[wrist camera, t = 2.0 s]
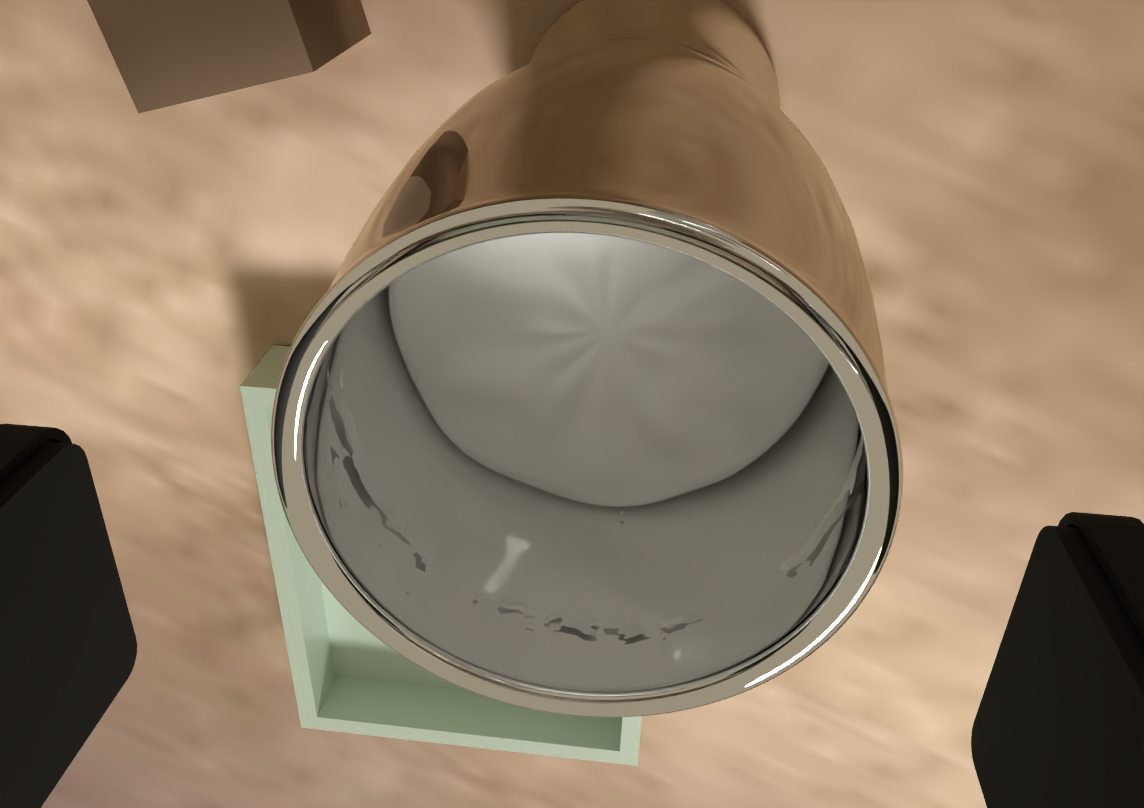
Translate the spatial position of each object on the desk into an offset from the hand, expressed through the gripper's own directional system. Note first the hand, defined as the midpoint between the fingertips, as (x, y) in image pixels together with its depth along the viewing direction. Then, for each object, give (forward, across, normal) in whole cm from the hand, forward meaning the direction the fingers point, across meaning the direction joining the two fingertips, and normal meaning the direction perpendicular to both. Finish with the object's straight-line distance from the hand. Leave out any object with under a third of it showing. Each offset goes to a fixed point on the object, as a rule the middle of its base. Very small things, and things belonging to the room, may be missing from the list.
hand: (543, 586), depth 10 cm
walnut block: (+16, +9, -4) cm, 18 cm away
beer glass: (+16, 0, -1) cm, 16 cm away
